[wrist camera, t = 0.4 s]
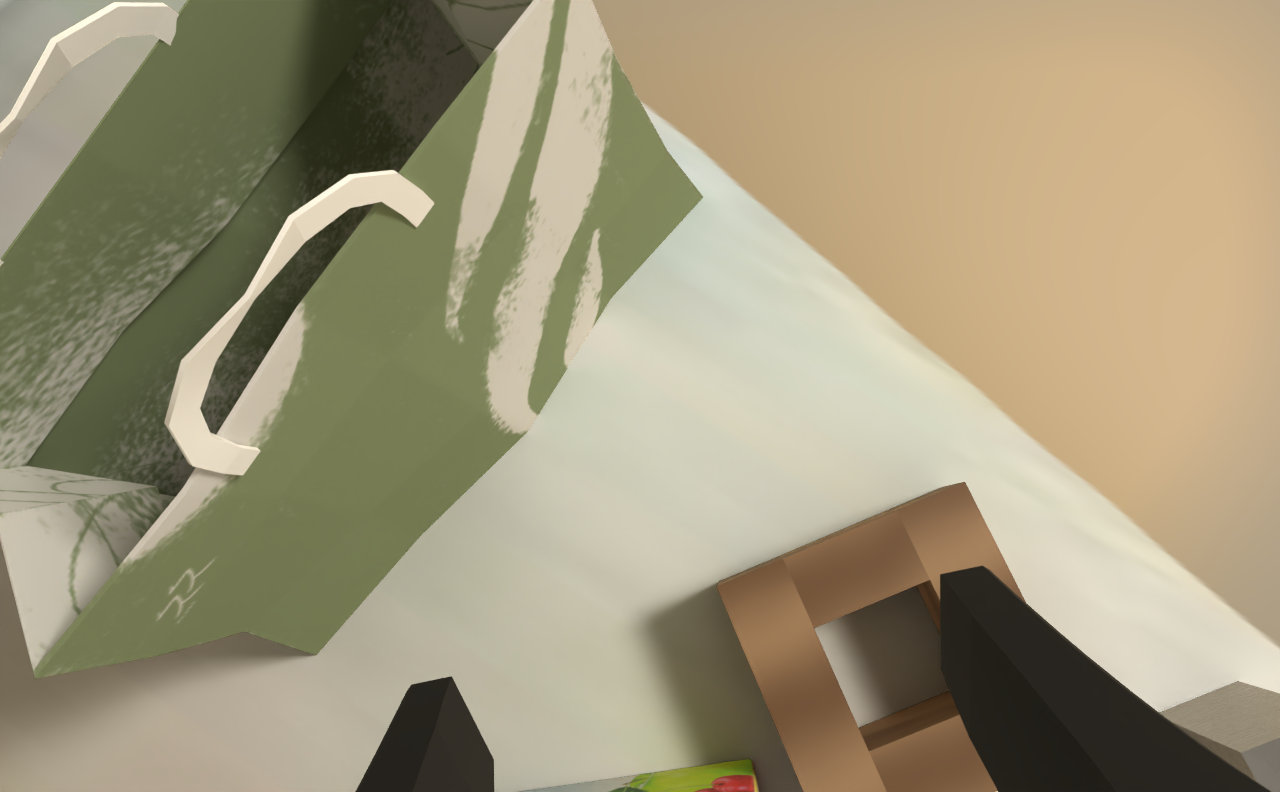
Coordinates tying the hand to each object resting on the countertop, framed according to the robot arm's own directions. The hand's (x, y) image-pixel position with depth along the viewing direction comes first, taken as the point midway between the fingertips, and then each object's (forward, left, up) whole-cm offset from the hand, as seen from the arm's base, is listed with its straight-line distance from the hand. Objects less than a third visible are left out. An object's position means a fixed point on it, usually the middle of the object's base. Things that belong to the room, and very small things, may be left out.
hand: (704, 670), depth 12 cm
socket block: (-6, -5, -29) cm, 30 cm away
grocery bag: (+17, +10, -29) cm, 35 cm away
